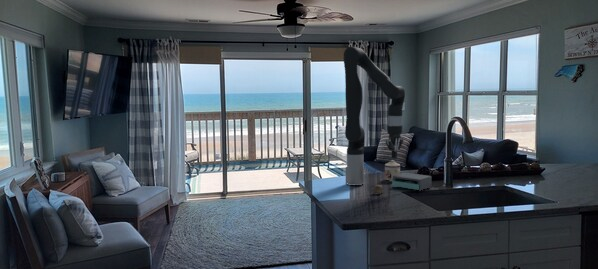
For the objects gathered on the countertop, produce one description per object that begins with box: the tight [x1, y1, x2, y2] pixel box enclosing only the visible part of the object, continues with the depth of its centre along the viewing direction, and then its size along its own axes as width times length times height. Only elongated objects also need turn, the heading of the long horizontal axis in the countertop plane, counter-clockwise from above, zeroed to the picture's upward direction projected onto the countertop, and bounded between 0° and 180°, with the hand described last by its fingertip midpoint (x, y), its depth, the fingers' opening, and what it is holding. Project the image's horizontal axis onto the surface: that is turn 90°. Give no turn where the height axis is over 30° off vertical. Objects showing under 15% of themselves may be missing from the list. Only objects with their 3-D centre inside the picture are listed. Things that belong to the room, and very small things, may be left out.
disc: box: [404, 180, 417, 184], centre depth 221 cm, size 6×6×2 cm
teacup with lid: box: [384, 159, 401, 181], centre depth 240 cm, size 12×9×12 cm
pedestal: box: [373, 184, 383, 195], centre depth 209 cm, size 4×4×4 cm
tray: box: [391, 179, 419, 191], centre depth 221 cm, size 15×12×3 cm
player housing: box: [393, 172, 433, 192], centre depth 222 cm, size 16×12×6 cm
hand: (394, 158), depth 215 cm, fingers closed
